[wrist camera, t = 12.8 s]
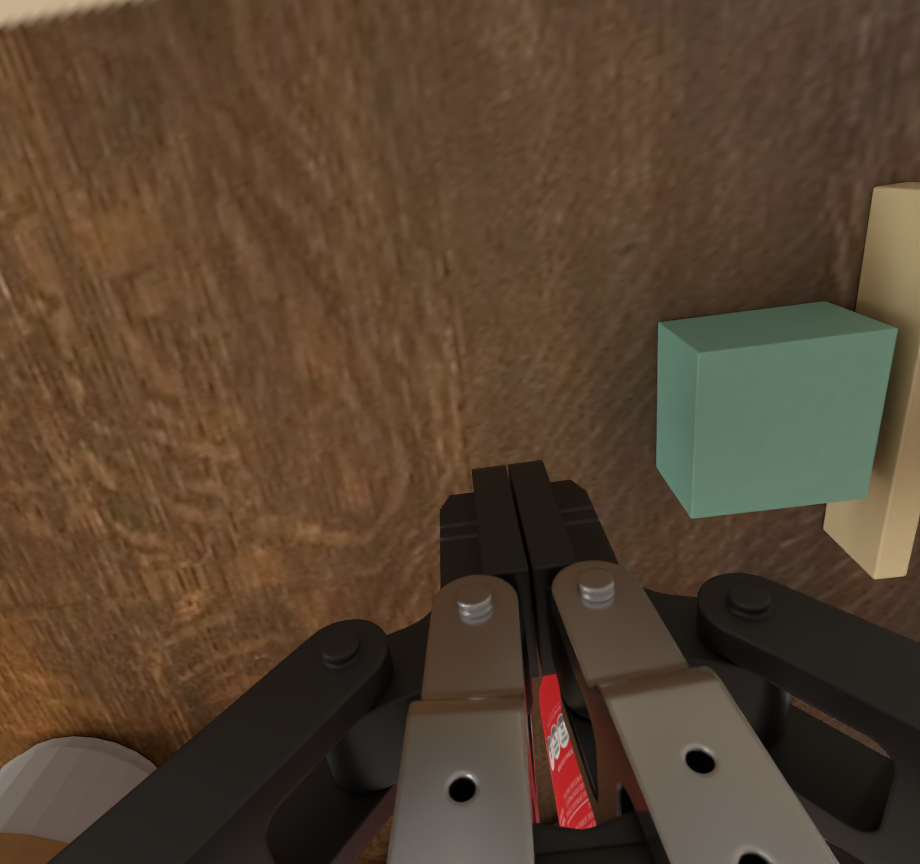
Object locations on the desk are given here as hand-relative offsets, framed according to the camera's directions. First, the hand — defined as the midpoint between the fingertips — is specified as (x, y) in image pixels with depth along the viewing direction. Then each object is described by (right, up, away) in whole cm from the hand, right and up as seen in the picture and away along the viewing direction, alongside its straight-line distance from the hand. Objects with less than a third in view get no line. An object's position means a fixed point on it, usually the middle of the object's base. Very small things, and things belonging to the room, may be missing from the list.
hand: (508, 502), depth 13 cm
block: (+7, +3, +4) cm, 8 cm away
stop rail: (+10, +3, +4) cm, 11 cm away
